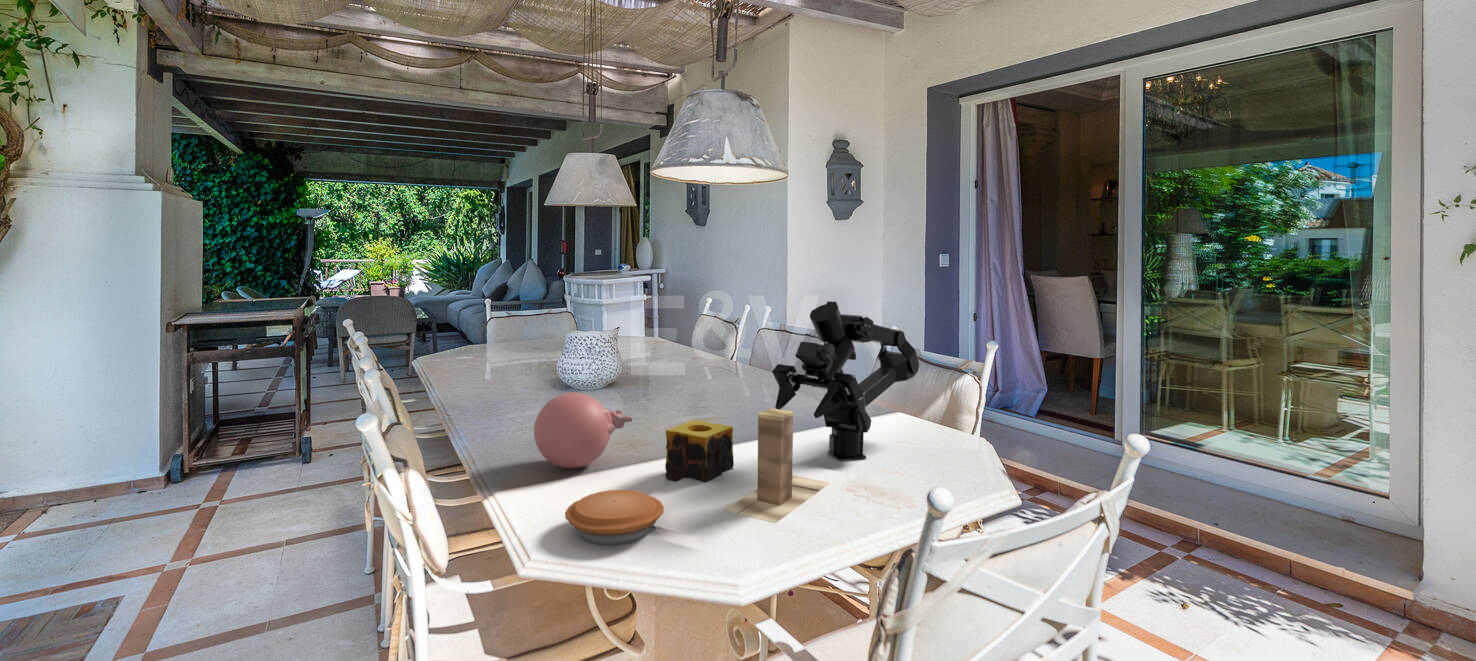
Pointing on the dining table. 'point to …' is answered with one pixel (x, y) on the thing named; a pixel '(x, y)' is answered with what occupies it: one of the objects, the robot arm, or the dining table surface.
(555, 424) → the balloon
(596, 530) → the pie
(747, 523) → the dining table surface
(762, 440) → the tall wooden pillar
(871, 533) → the dining table surface
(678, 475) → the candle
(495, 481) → the dining table surface
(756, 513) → the board
